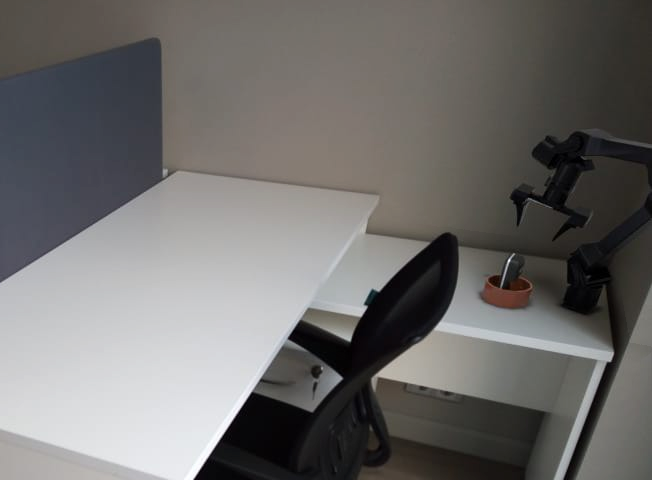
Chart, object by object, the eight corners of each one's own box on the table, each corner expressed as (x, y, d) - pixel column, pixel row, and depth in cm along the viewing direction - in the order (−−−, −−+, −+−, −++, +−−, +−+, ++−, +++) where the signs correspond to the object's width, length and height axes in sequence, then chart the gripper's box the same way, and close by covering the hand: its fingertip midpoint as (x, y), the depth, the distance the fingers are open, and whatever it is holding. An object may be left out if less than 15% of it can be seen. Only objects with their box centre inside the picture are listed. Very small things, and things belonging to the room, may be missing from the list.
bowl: (535, 300, 184) (540, 283, 182) (513, 312, 179) (518, 295, 177) (495, 286, 192) (500, 270, 189) (473, 297, 186) (477, 281, 184)
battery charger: (508, 305, 182) (521, 263, 176) (492, 301, 184) (504, 259, 178) (515, 295, 187) (528, 254, 180) (500, 292, 189) (512, 250, 182)
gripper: (613, 182, 178) (580, 236, 189) (538, 154, 186) (511, 207, 197) (600, 199, 172) (567, 253, 183) (523, 169, 180) (496, 223, 191)
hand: (535, 233), depth 189 cm, fingers open, 9 cm apart
